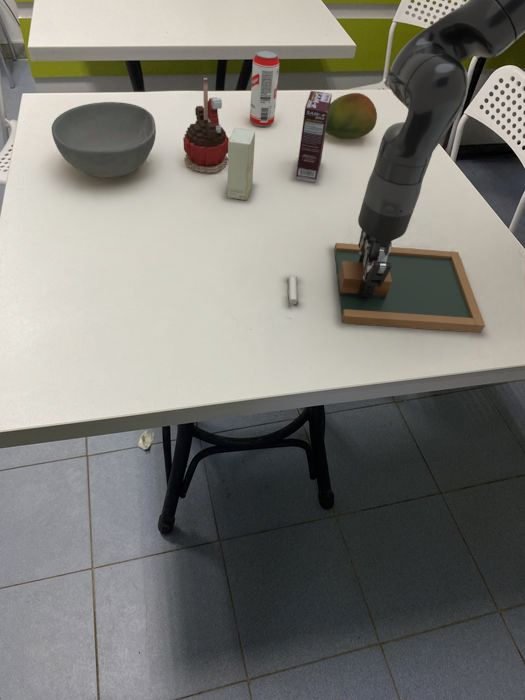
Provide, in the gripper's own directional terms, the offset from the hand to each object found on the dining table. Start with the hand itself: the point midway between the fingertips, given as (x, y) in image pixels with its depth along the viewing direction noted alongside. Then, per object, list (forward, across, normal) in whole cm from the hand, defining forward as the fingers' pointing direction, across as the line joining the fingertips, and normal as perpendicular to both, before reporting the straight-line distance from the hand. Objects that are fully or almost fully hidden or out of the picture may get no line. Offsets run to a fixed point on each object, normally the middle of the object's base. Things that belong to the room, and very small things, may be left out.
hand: (362, 285), depth 85 cm
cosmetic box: (+2, +29, +23) cm, 37 cm away
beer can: (+2, +61, +19) cm, 64 cm away
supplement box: (+2, +39, +8) cm, 40 cm away
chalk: (+1, -1, +12) cm, 12 cm away
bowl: (+2, +34, +51) cm, 61 cm away
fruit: (+2, +57, -2) cm, 57 cm away
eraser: (+1, 0, 0) cm, 1 cm away
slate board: (+2, +2, -7) cm, 8 cm away
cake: (+2, +39, +31) cm, 50 cm away
